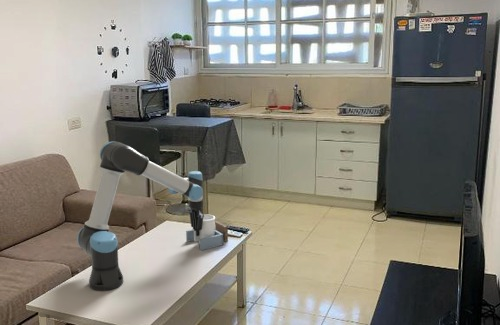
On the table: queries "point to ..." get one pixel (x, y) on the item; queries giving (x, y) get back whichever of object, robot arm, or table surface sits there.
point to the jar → (207, 227)
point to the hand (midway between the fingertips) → (196, 240)
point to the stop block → (222, 230)
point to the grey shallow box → (206, 239)
